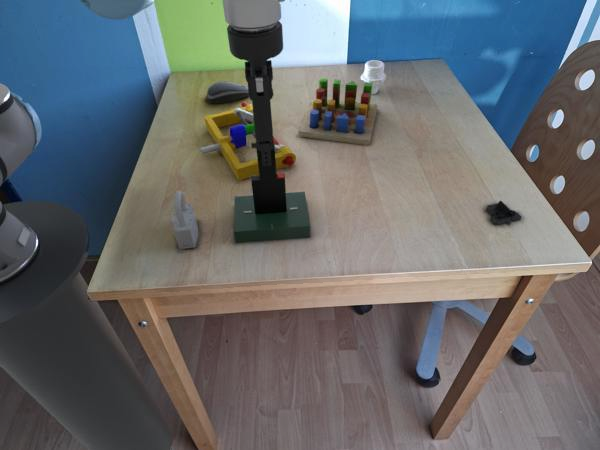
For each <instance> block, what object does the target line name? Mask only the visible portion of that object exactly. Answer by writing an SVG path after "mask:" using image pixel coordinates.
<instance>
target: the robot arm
mask: <svg viewBox="0 0 600 450" xmlns="http://www.w3.org/2000/svg"><path fill="white" fill-rule="evenodd" d="M78 1H79V2H80V3H82V4H83V5H84V6H85V7H86V8H87V9H88V10H90V11H91V13H94V14H95V15H97V16H99V17H101V18H104V19H107V20H113V21H114V20H115V21H116V20H117V21H120V20H126V19H129V18H131V17H134V16H135V15H137V14H139V13H140V12H141V11H143V10H145V9H147V8H149V7H150V6H152V5H153V4H154V2H155V1H156V0H78ZM285 1H286V0H222V8H223V13H224V21H225V22H226V24H228V26H227V27H226V33H227V39H228V47H229V52H230V54H231V55H232V56H233V57H234V58H236V59H237V60H241V61H243V60H244V76H245V81H246V83H247V88H248V92H249V96H248V97H249V100H250V101H251V104H252V105H253V116H254V126H255V137H256V139H255V141H254V143H253V142H252V143H251V144H250V146H251V149H255V150H256V159H258V168H259V176H260V180H273V179H277V174H278V172H277V169H276V159H275V144H274V140H273V136H274V130H273V129H274V128H273V118H272V105H271V104H272V103H271V100H272V99H273V97H274V89H273V80H274V75H273V74H274V72H273V64H272V62H273V61H272V60H271V59H273V58H276V57H278V56H279V55H280V54H281V53H282V52H283V50H284V32H283V24H282V22H281V19H282V6H281V5H282V4H281V3H283V2H285ZM42 133H43V128H42V124H41V120H40V118H39V116H38V114H37V112H36V111H35V109H34V108H33V106H32V105H30V103H28V102H24V101H23V98H22V97H21V96H19V95H18V94H16V93H14V92H12V91H10V89H9V87H8V86H7V85H5V84H3V83H0V187H1V186H2V185H3V184H4V183H5V182H6V181H7V180H8V179H9V178H10V177H11V176H12V174H14V172H15V171H16V170H17V169H18V168H19V167H20V166H21V165H22V164H23V163H24V162H25V161H27V159H29V157H31V156H32V154H33V153H34V151H35V149H36V147H37V146H38V145H39V143H40V142H41V139H42ZM255 137H254V138H255ZM3 205H4V204H3V203H2V202H1V201H0V286H1V285H3V284H5V283H7V282H9V281H11V280H13V279H14V278H16V277H17V276H19V275H20V274H22V273H23V272H24V271H25V270H26V269H27V268H28V267H29V266H30V265H31V264H32V263H33V262H34V260H35V259H36V257H37V255H38V253H39V250H40V241H39V238H38V237H37V235H36V234H35V232H34V231H33V230H32V229H31V228H30V227H29V226H28V225H26V224H25V223H23V222H20V221H19V220H18V219H17V218H16V217H15V216H14V215H12V214H11V213H9V212H8V211H7V210H6V209H5V208H4V206H3Z"/></svg>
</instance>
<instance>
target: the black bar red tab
mask: <svg viewBox="0 0 600 450" xmlns="http://www.w3.org/2000/svg"><path fill="white" fill-rule="evenodd" d="M250 183H251V190H252V191H251V192H252V195H253V200H254V208H255V214H266V213H279V212H287V205H286V193H287V191H286V190H287V188H286V175H285V172H277V179H273V180H260V176H259V175H253V176H251V177H250Z"/></svg>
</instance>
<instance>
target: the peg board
mask: <svg viewBox="0 0 600 450" xmlns="http://www.w3.org/2000/svg"><path fill="white" fill-rule="evenodd" d="M328 80H329V79H328V78H326V77H321V78H319V79H318V88H316V90H315V97H313V98H312V99H311V102H310V105H309V107H308V109H307V112H306V114H305V115H304V118H303V121H302V123H301V125H300V127H299V130H298V136H299V137H300V138H308V139H315V140H324V141H330V142H340V143H347V144H356V145H362V146H369V145H370V143H371V139H372V133H373V130H374V125H375V121H376V115H377V110H378V105H377V104H376V103H375V104H374V103H371V98H372V94H371V92H372V85H373V83H367V82H365V81H364V84H363V90H362V93H361V95H360V102H356V101H357V90H358V84H357V83H356V82H355V81H354V80H350V81H348V82H347V83H345V89H344V100H340V99H341V79H339V78H338V79H337V78H336V79H334V81H333V82H332V99H329V98H328V87H329V85H328V83H329V81H328Z"/></svg>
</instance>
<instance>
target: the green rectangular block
mask: <svg viewBox="0 0 600 450" xmlns="http://www.w3.org/2000/svg"><path fill="white" fill-rule="evenodd" d="M286 205H287V212H279V213H266V214H255V208H254V200H253V194H252V195H238V196H234V205H233V211H234V213H233V237H234V241H235V244H241V243H242V244H243V243H254V242H265V241H266V242H267V241H268V242H269V241H279V240H280V241H281V240H292V239H305V238H311V222H310V216H309V209H308V203H307V197H306V191H294V192H286Z"/></svg>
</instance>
